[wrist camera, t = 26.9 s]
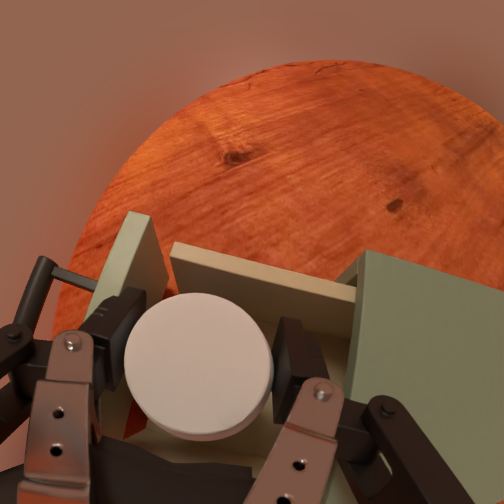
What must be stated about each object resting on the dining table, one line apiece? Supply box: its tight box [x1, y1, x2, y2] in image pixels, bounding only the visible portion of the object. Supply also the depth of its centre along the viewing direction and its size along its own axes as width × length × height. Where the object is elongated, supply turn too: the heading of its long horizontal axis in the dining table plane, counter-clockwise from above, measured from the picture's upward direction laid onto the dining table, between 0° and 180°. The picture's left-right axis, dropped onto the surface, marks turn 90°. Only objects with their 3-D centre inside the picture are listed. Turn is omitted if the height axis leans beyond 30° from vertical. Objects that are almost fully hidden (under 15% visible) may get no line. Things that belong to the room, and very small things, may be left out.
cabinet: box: [320, 249, 504, 504], centre depth 15 cm, size 16×13×10 cm
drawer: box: [13, 211, 357, 478], centre depth 15 cm, size 20×12×8 cm, turn 78°
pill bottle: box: [124, 293, 274, 441], centre depth 12 cm, size 5×5×9 cm
